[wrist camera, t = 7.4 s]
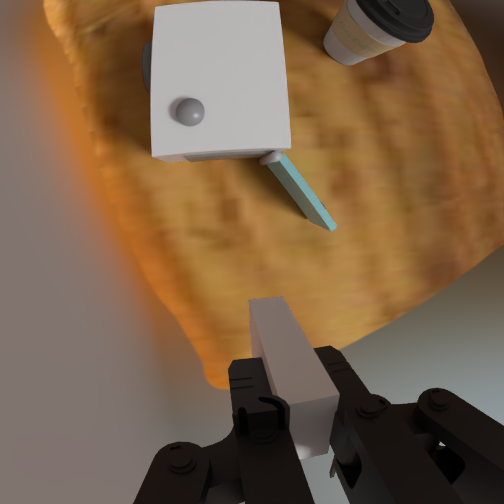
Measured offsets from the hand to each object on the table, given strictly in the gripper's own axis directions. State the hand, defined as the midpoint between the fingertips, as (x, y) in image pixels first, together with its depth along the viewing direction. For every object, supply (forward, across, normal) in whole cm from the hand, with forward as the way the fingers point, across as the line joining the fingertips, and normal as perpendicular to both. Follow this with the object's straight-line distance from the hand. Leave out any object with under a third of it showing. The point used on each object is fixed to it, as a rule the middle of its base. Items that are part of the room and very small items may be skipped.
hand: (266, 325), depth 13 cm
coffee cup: (+23, +16, +25) cm, 37 cm away
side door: (+22, +7, +5) cm, 24 cm away
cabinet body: (+22, -1, +17) cm, 28 cm away
